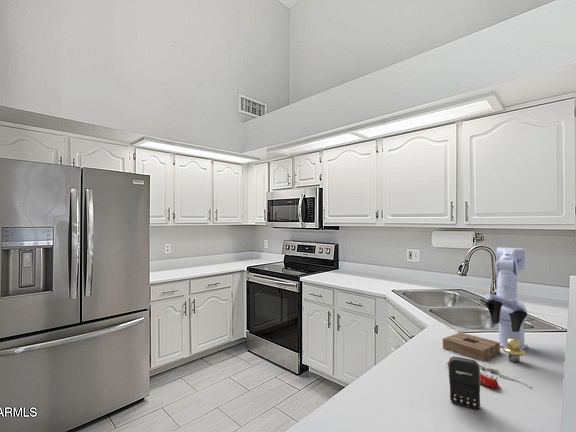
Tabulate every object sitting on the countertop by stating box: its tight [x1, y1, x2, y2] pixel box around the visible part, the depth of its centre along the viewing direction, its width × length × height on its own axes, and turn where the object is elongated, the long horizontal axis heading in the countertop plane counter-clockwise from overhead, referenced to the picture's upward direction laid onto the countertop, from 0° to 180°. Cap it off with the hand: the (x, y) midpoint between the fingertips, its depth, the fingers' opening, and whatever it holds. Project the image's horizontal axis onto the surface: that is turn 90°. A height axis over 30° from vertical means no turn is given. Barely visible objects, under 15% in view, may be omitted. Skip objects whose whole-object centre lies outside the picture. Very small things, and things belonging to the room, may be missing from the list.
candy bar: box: [446, 361, 501, 389], centre depth 91 cm, size 16×4×3 cm, turn 20°
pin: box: [502, 338, 526, 364], centre depth 103 cm, size 6×6×7 cm
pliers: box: [478, 361, 532, 389], centre depth 92 cm, size 10×2×15 cm
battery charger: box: [448, 355, 481, 410], centre depth 76 cm, size 7×4×11 cm, turn 58°
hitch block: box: [442, 331, 501, 362], centre depth 113 cm, size 14×14×4 cm
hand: (505, 327), depth 103 cm, fingers open, 7 cm apart
